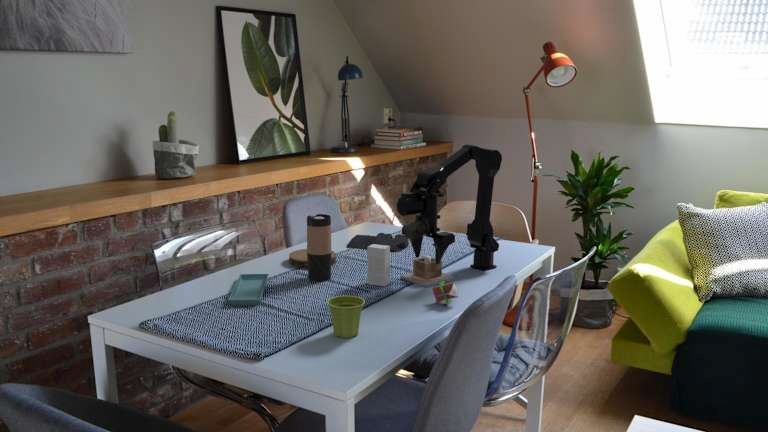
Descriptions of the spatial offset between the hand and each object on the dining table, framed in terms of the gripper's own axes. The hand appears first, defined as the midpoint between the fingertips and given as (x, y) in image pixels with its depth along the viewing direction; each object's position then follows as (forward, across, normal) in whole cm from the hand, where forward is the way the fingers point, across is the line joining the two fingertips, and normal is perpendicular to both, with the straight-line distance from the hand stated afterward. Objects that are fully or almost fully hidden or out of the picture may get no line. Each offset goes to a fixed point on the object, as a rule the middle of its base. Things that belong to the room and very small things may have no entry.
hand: (427, 260), depth 226 cm
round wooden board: (+7, -39, -17) cm, 43 cm away
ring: (+5, 0, 0) cm, 5 cm away
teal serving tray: (+7, -24, -50) cm, 56 cm away
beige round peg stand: (+6, 0, 0) cm, 6 cm away
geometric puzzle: (+6, +20, -12) cm, 24 cm away
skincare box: (+6, -6, -15) cm, 17 cm away
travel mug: (+6, -22, -26) cm, 35 cm away
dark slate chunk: (+7, -42, +15) cm, 46 cm away
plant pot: (+6, +21, -48) cm, 53 cm away
